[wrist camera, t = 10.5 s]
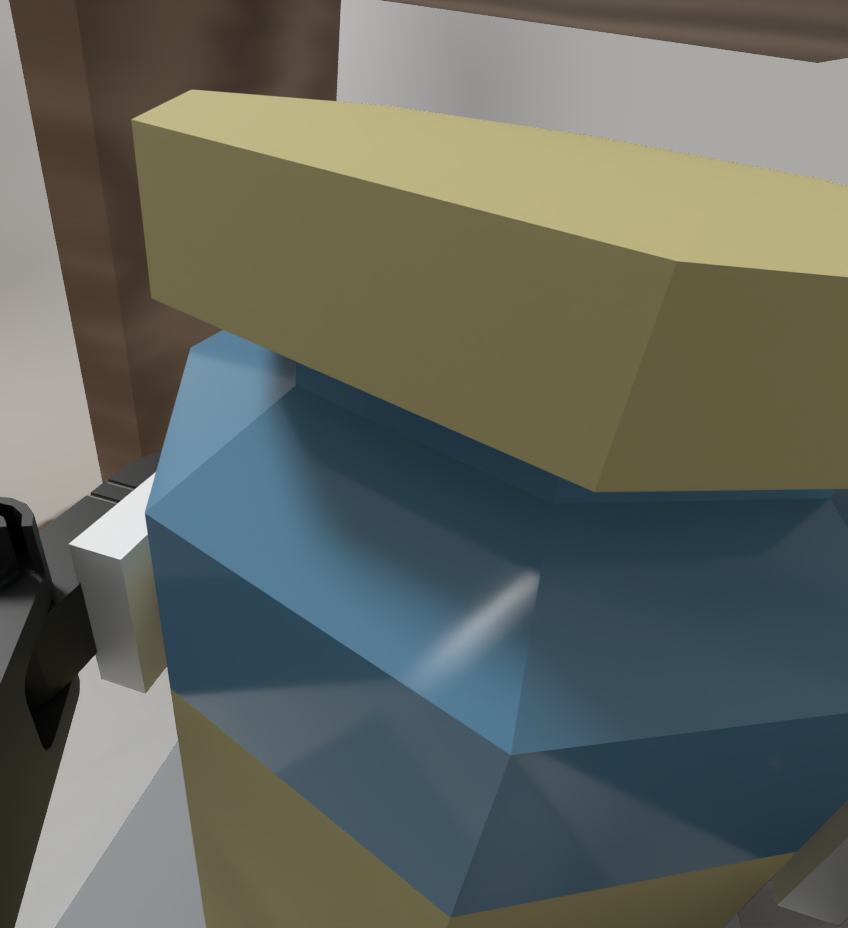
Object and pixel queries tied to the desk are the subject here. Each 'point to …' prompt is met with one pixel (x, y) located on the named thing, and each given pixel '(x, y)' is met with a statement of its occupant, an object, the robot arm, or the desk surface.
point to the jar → (495, 516)
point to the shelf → (259, 73)
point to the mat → (152, 866)
